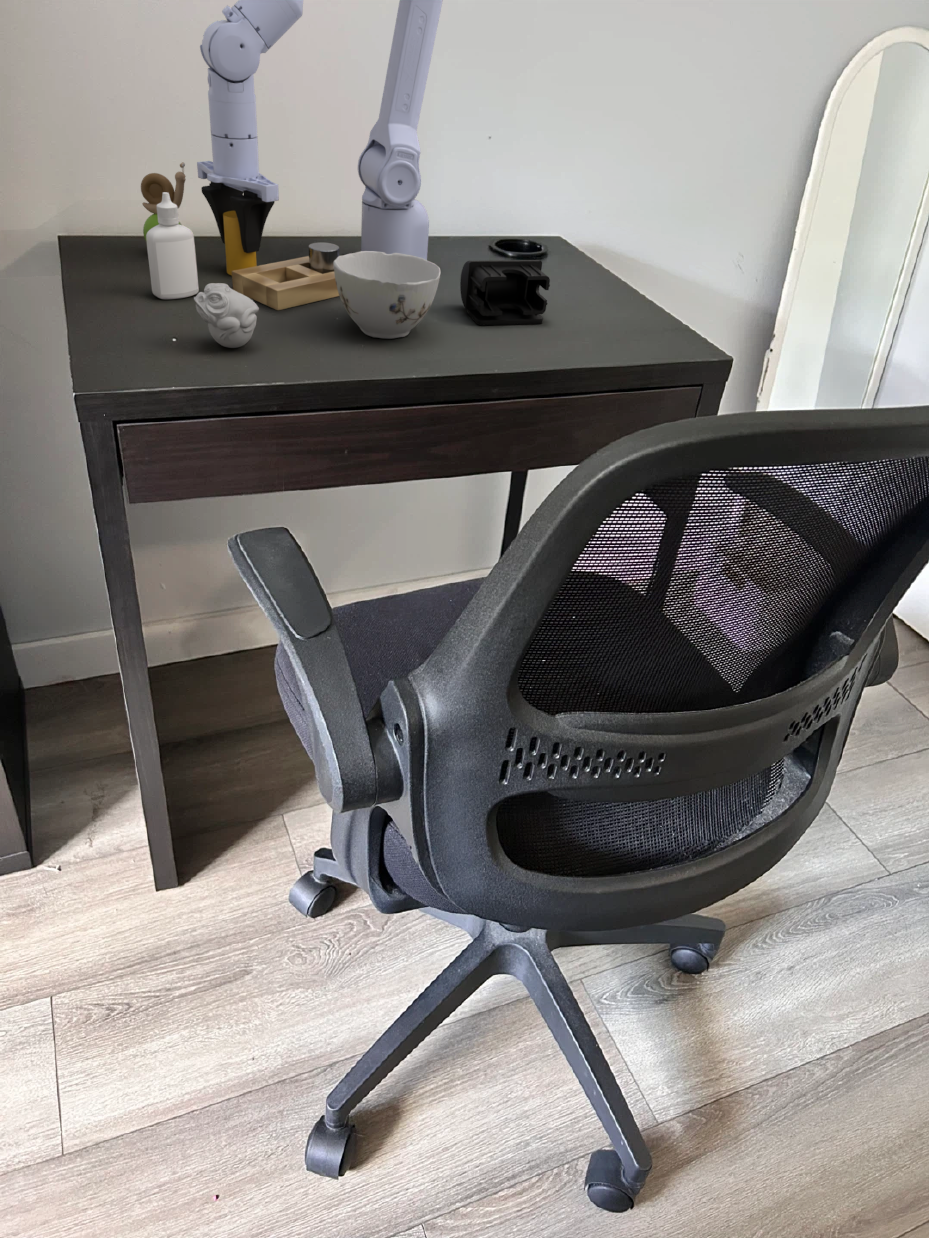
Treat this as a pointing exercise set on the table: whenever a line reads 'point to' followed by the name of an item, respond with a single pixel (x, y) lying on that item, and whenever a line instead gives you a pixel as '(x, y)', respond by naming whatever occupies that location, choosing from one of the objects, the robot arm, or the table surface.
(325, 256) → the steel peg
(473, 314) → the end cap
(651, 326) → the table surface
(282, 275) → the peg stand
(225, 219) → the yellow peg
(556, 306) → the table surface
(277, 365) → the table surface
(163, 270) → the eye dropper bottle
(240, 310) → the frog figurine
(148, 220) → the snail figurine
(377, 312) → the teacup
